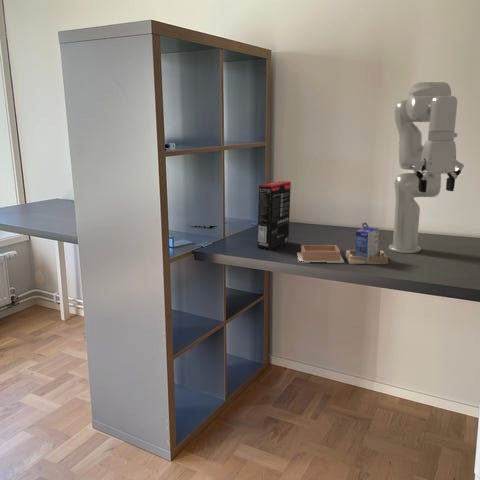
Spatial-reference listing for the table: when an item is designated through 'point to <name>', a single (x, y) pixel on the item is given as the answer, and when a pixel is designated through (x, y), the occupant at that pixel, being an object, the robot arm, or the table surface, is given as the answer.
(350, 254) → the beige rectangular frame
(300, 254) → the tray
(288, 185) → the graphics card box
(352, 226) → the table surface
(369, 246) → the ink cartridge box
